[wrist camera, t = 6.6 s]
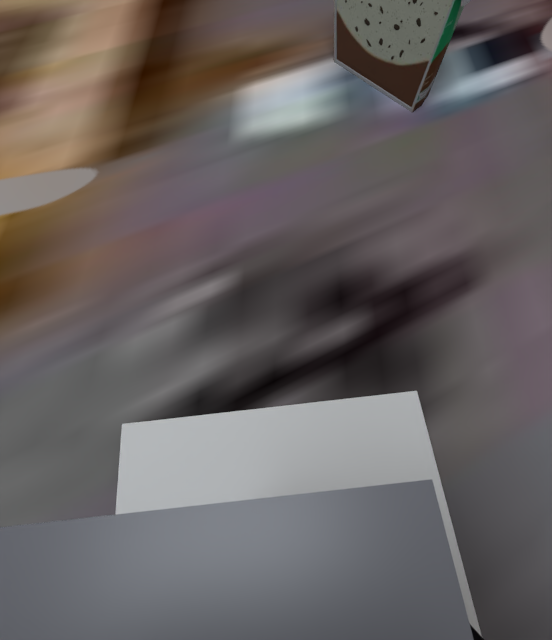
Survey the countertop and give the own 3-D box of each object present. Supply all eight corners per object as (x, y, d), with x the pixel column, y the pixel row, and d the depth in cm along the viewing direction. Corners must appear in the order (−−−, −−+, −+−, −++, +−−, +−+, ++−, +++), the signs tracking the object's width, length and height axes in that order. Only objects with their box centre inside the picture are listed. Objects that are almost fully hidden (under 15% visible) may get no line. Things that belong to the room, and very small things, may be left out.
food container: (477, 87, 33) (543, -73, 24) (426, 121, 32) (475, -35, 23) (371, 26, 38) (393, -127, 29) (322, 54, 36) (329, -98, 27)
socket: (523, 865, 14) (555, 916, 12) (109, 909, 14) (82, 964, 13) (407, 401, 22) (416, 390, 20) (136, 431, 22) (122, 424, 20)
